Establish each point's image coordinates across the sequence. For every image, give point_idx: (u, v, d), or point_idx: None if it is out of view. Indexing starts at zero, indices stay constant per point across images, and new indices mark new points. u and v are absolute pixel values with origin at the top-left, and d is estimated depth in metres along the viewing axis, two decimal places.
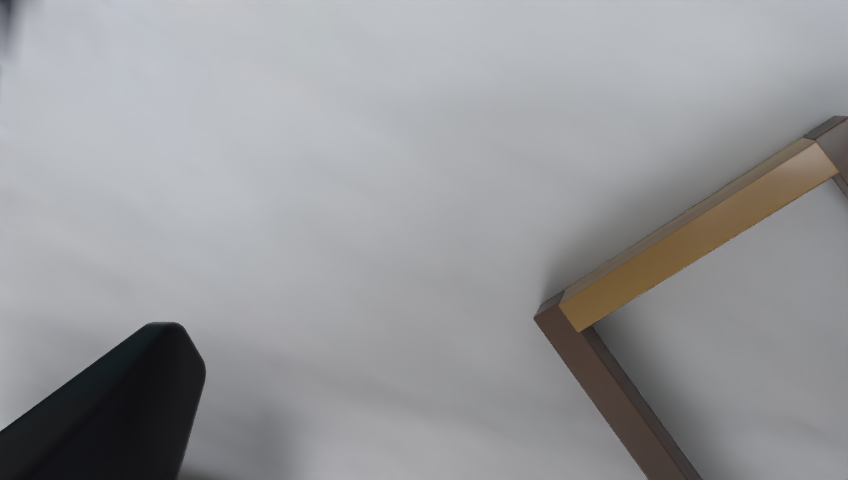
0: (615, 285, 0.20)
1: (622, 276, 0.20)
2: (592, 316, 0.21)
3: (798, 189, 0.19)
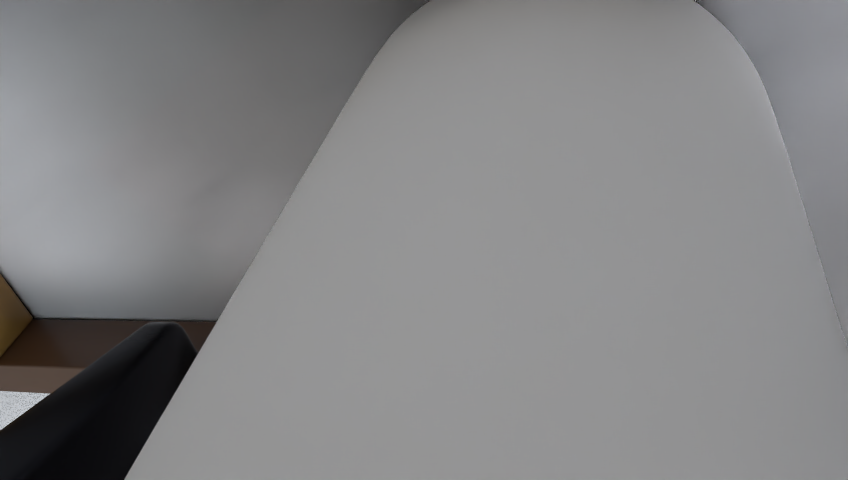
0: None
1: None
2: None
3: None
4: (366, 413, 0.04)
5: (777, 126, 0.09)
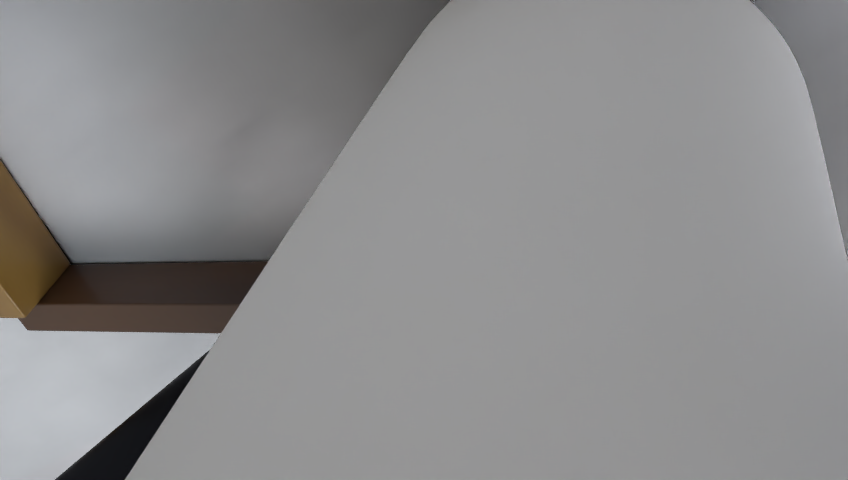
0: None
1: None
2: (4, 299, 0.17)
3: None
4: (389, 353, 0.04)
5: (812, 116, 0.09)
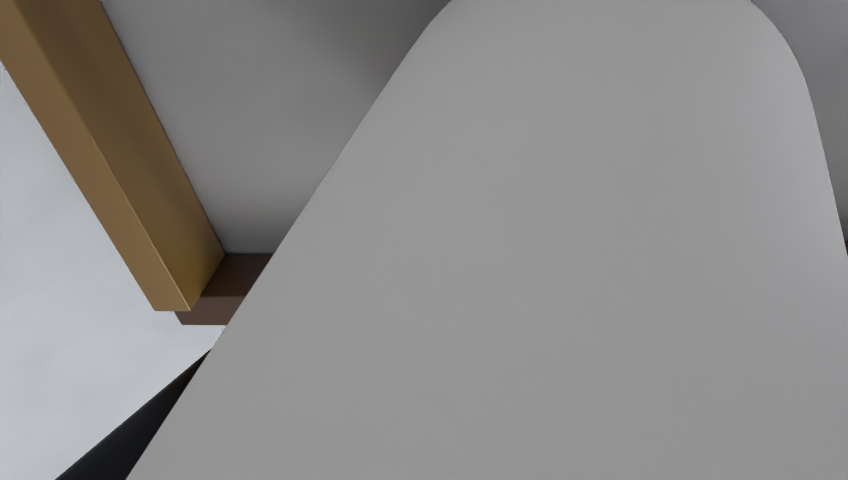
0: (136, 256, 0.16)
1: (125, 246, 0.16)
2: (172, 291, 0.16)
3: (19, 26, 0.12)
4: (391, 353, 0.04)
5: (813, 116, 0.09)
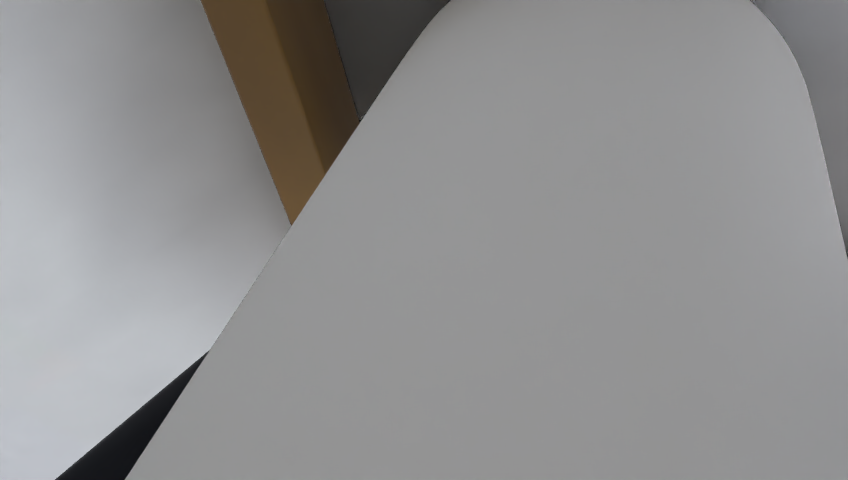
0: None
1: None
2: None
3: (256, 9, 0.10)
4: (389, 354, 0.04)
5: (812, 116, 0.09)
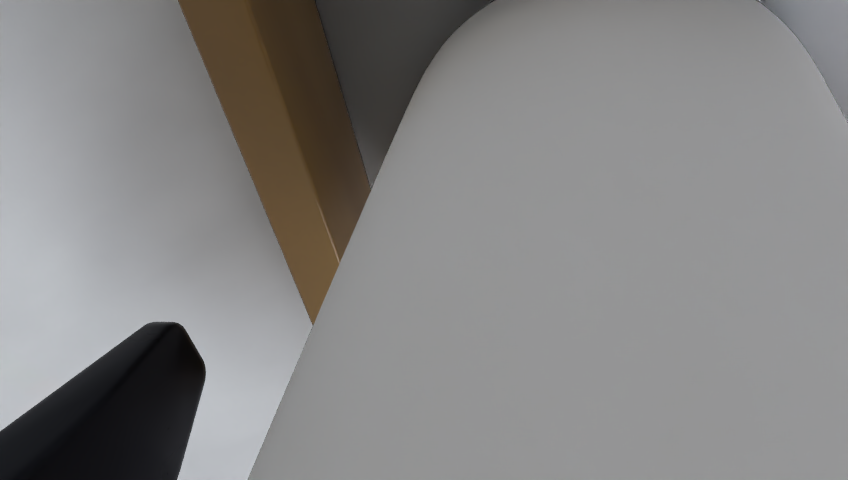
0: None
1: None
2: None
3: (252, 47, 0.10)
4: (548, 401, 0.04)
5: None
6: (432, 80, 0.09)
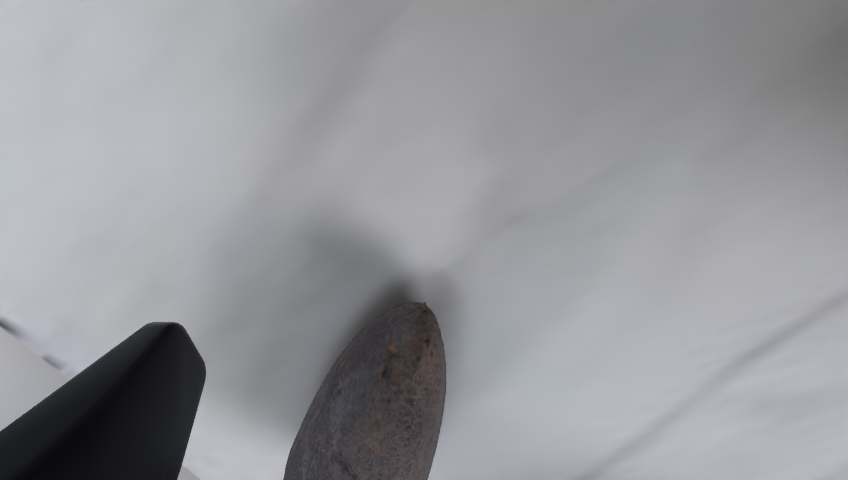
0: None
1: None
2: None
3: None
4: None
5: None
6: None
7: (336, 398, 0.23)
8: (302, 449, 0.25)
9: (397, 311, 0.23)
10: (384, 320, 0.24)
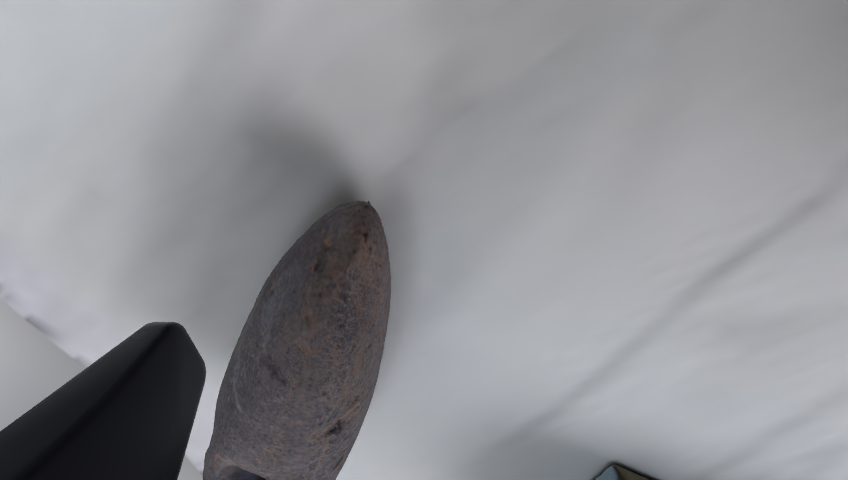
0: None
1: None
2: None
3: None
4: None
5: None
6: None
7: (268, 298, 0.22)
8: (234, 360, 0.23)
9: (337, 208, 0.22)
10: (323, 217, 0.22)
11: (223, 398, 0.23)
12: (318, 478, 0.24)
